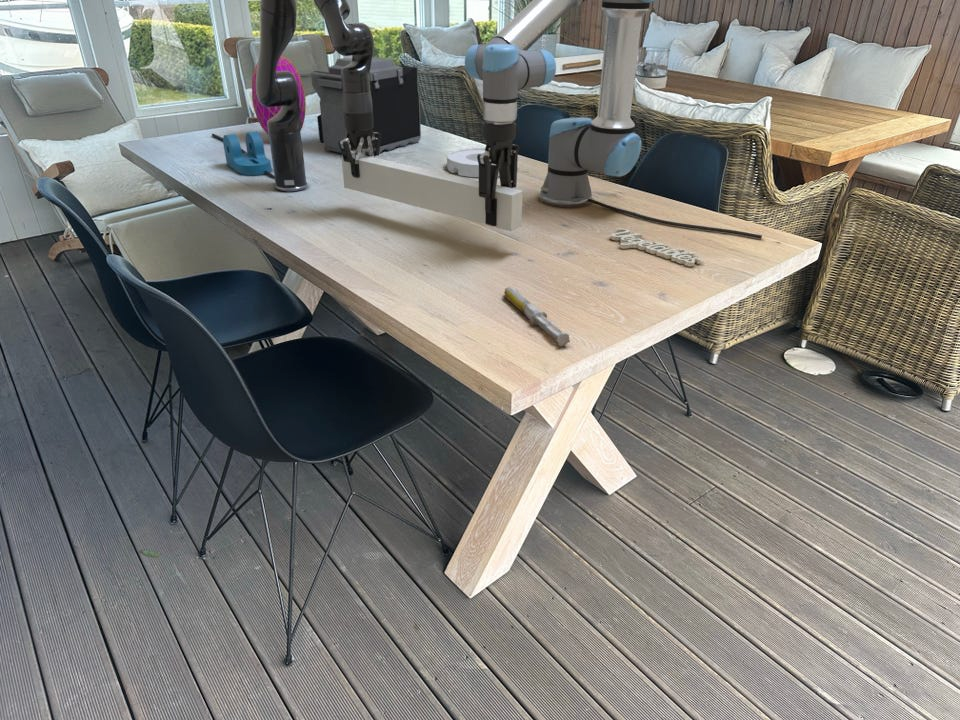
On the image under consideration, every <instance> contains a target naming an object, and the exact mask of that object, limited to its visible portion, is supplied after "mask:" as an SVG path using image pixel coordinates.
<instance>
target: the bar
mask: <svg viewBox="0 0 960 720" xmlns="http://www.w3.org/2000/svg"><path fill="white" fill-rule="evenodd" d="M354 157H355V154H354ZM340 159H341V166H342V178H343V187H344V188H345V189H349V190H352V191H356V192H360V193H363V194H368V195H370V196H375V197H379V198H382V199H386V200H390V201H394V202H398V203H402V204H406V205H409V206H412V207H416V208H420V209H425V210H428V211H432V212H437V213H440V214H443V215H447V216H450V217H454V218H459V219H462V220H467V221H469V222H473V223H477V224H482V225H486V226H489V227H493V228H496V229H500V230H505V231H508V232H513V231H515V230H517V229H519V228H521V227H523V226H522V224H523V200H524V195H523V194H524V191H523V190H522V189H517V188H508V187H504V186H501V184H497V185H496V192H495V198H497V223H496V226H491V225H488V224H485V220H486V212H485V198H483V197H479V180H477V179H472V178H469V177H465V176H460V175H455V174H450V173H446V172H441V171H438V170H437V171H436V170H432V169H427V168H424V167H418V166H414V165H411V164H406V163H401V162H396V161H392V160H388V159H382V158H378V157H375V158H374V157H370V156H365V155H360V156H359V161H358V164H359V171H360V177H359V178H356V177H353V176H352V174H351V164H350V163H349V162H345V161H344V160H343V156H342V155H341V158H340ZM490 194H491V193H490Z"/></svg>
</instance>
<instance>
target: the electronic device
mask: <svg viewBox="0 0 960 720" xmlns="http://www.w3.org/2000/svg"><path fill="white" fill-rule="evenodd" d="M351 60H352V57H350V58H349V57H343V58H342V57H341V58H337V59H336V60H335V63H334V64H333V65H330V66H329V67H328V72H327V71H320V70H314V71H313V70H312V71H310V79H311V87H313V90H314V91H315V93H316V94H317V96H318V98H319V110H320V111H319V112H320V114H319V115H317V116H316V119H317V128H318V138H319V143H320V144H323V146H324V149H325V150H327V151H330V152H335V153H340V154H342V153H341V150H340V147H339V144H338V141H339V140H344V139H345V138H346V136H347V130H346V128H345V123H344V112H343V89H342V77H341V71H342V69H343V67H345V66H347V65H348V64H350V63H351ZM369 77H370V91H371V97H372V107H373V122H374V127H373V128H372V130H373V132H377V133H381V142H380V150H379V154H381V153H382V152H383V151H391V150H395V149H396V148H397V147H405V146H407V145H408V144H416V143H418V142H419V141H421V137H422V128H421V97H420V92H419V91H420V89H419V68H418V67H417V66H408V65H400V64H396V62H395V60H394V59H393V58H385V57H377V56H372V61H371V67H370V72H369ZM349 145H350V144H349ZM375 147H376V146H375ZM374 150H375V148H374ZM354 151H357V150H354ZM361 155H364V152H363V151H362V150H361Z"/></svg>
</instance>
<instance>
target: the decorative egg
mask: <svg viewBox="0 0 960 720" xmlns="http://www.w3.org/2000/svg"><path fill="white" fill-rule="evenodd" d="M257 66H258V61H257V62H256V65H255V68H254V69H253V70H254V71H253V73H252V77H251V101H252V107H253V110H254V114H255V116H256V118H257V121H258V123H259V125H260V127H261V128H262V130H263V131H264V133H266V135H267V136H269V134H268V127H267V122H268V120H269V119H271V118H272V117H274V116H275V115H276V114H277V113H278V112H279V111H280V109H281V106H278V107H264V106H262V105H261V104H260V102H259V100H258V97H257V93H256V74H257ZM277 71H289V72H291V73H292V74H293V75H294V77H295V79H296V81H297V85H298V91H299V106H300V132H301V131H302V129H303V127H304V123H305V118H306V104H307V103H306V102H307V101H306V99H307V97H306V93H305V88H304V84H303V81H302V77H301V75H300V73H299V71H298V69H297V67H296V66H295V65H294V63H293V62H292V61H291V60H290V59H288V58H287V57H285V56H282V55H281V56H280V58H279V61H278V63H277V68H276V72H277Z"/></svg>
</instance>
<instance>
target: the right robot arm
mask: <svg viewBox="0 0 960 720" xmlns="http://www.w3.org/2000/svg"><path fill="white" fill-rule="evenodd" d="M585 1H587V0H531V1H530V2H529V3H528V4H527V5H526V6H525V7H524V8H523V9H522V10H521V11H519V13H518V14H516V15H515V16H514V17H513V18H512V19H511V20H510V21H509V22H508V23H507V24H506V25H505V26H504V27H503V28H502V29H500V31H498V32H497V34H496V35H495V36H494V37H492V38H491V39H490V40H489V41H488V42H487V43H485V44H481V43H480V44H474V45H472V46H470V47H469V48H468V50H467V51H466V53H465V55H464V56H465V57H464V68H465V71H466V73H467V74H468V75H469V76H470V77H471V78H473V79H476V80H480V81H482V119H483V120H484V121H483V122H482V139H483V140H484V141H485V142H486V143H485V147H484V148H485V152H484V153H483V154H482V155H481V154H478V156H477V160H478V164H479V177H478V181H479V197H483V198H485V212H486V220H485V224H488V225H487V226H489V225H491V226H490V227H492V226H496V223H497V198H495V192H496V185H498V179H499V183H500V184H499V185H500V186H504V187H508V188H513V189H516V188H517V180H518V160H519V159H518V158H519V157H518V156H519V153H520V145H518V144H513V141H515V140H516V138H517V123H516V120H517V117H518V91H520V90H525V89H532V88H540V87H542V86H545V85H548V84H550V83H551V82H552V81H553V80H554V78H555V76H556V73H557V61H556V59H555V57H554V55H553V54H552V53H551V52H550V51H549V50H545V49H535V50H529V49H530V48H531V47H532V46H533V45H534V44H535V43H536V42H538V40H539V39H540V38H542V37H543V36H544V35H545V34H546V33H547V32H548V31H549V29H551V28H552V27H553V26H554V25H555V24H556V23H557V22H558V21H559V20H560V19H561V18H562V17H563V16H564V15H565V14H566V13H567V12H568V11H569V10H570V9H576V8H578V7H580V5H581V4H583V3H584V2H585ZM654 1H655V0H601V10H602V11H603V12H604V14H605V15H606V22H605V23H606V24H605V35H604V44H603V56H602V64H601V74H600V86H599V96H598V105H597V107H598V108H597V116H596V117H595V118H593V119H592V118H590V117H569V118H568V117H567V118H562V119H557V120H554V121H553V122H552V123H551V125H550V129H549V130H550V131H549V135H548V156H547V158H548V159H547V173H546V176H545V178H544V181H543V184H542V186H541V187H540V191H539V200H540V202H542V203H543V204H546V205H549V206H553V207H558V208H559V207H560V208H580V207H584V206H588V205H589V204H594V205H596V206H599V207H603V208H605V209H607V210H612V211H614V212H618V213H621V214H625V215H628V216H632V217H635V218H637V219H642V220H645V221H649V222H654V223H657V224H663V225H668V226H674V227H680V228H688V229H693V230H700V231H701V230H702V231H709V232H715V233H716V232H717V233H724V234H730V235H738V236H743V237H747V238H754V239H759V240H762V238H763V235H762V234H757V233H751V232H746V231H740V230H734V229H728V228H720V227H712V226H705V225H696V224H689V223H682V222H676V221H671V220H665V219H659V218H655V217H651V216H647V215H643V214H640V213H636V212H633V211H630V210H626V209H623V208H619V207H615V206H613V205H609V204H606V203H604V202H601V201H598V200H595V199H593V193H592V188H591V184H590V179H589V171H591V172H595V173H599V174H603V175H606V176H608V177H610V176H612V177H619V178H620V177H623V176H626V175H627V174H628V173H630V172H631V171H632V170H633V168H634V167H635V166H636V165H637V162H638V160H639V158H640V155H641V151H642V144H643V143H642V140H641V137H640V136H639V134H638V133H636V132H635V129H636V128H635V127H636V123H635V122H634V121H633V119H631V114H632V113H631V112H632V104H633V95H634V88H635V87H634V86H635V80H636V71H637V62H638V55H639V54H638V53H639V45H640V37H641V29H642V19H643V17H644V16H645V14H646V13H648V12H649V11H650V5H651V3H653V2H654ZM493 164H496V165H493ZM498 172H499V176H498ZM490 193H491V194H490ZM485 224H484V225H485Z"/></svg>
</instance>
